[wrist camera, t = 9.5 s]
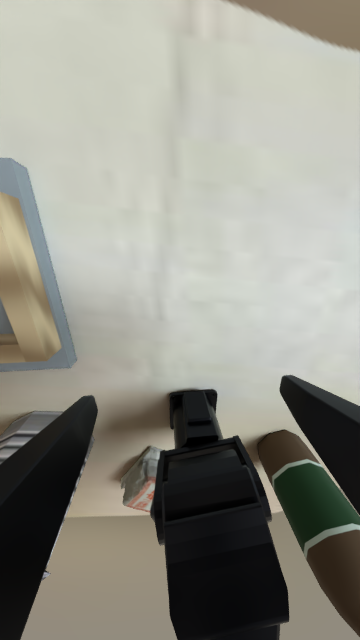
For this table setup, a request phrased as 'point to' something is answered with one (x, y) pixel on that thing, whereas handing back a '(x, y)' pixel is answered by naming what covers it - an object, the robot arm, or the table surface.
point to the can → (23, 433)
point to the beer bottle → (317, 519)
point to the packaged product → (141, 481)
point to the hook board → (16, 183)
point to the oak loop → (23, 292)
